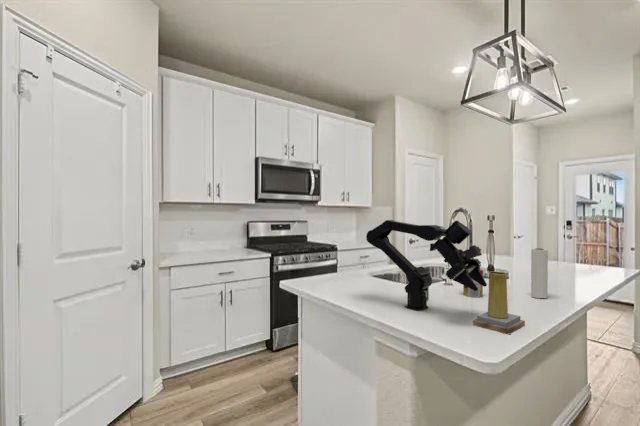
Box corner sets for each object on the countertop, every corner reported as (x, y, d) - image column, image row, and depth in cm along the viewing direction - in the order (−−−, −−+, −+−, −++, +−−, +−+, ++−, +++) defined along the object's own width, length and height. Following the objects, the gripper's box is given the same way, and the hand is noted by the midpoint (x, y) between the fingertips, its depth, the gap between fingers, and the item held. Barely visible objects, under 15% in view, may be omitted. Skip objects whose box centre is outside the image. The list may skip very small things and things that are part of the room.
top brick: (477, 320, 112) (477, 315, 112) (492, 314, 118) (492, 309, 118) (506, 327, 105) (506, 322, 105) (520, 320, 112) (520, 316, 112)
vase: (490, 318, 109) (490, 273, 109) (484, 312, 115) (485, 270, 115) (510, 319, 108) (511, 274, 108) (504, 313, 114) (504, 271, 114)
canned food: (479, 293, 155) (479, 267, 155) (485, 297, 147) (485, 270, 147) (461, 293, 156) (461, 267, 156) (466, 297, 148) (466, 269, 148)
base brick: (472, 324, 112) (472, 320, 112) (490, 317, 120) (490, 313, 120) (508, 334, 103) (508, 329, 103) (524, 325, 111) (524, 320, 111)
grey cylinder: (544, 300, 144) (544, 249, 144) (528, 297, 149) (529, 248, 149) (550, 297, 149) (550, 248, 149) (535, 294, 154) (535, 247, 154)
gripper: (456, 239, 112) (491, 277, 104) (475, 236, 125) (508, 270, 118) (432, 260, 117) (465, 298, 110) (453, 255, 131) (483, 288, 123)
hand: (481, 288), depth 115 cm, fingers open, 9 cm apart
